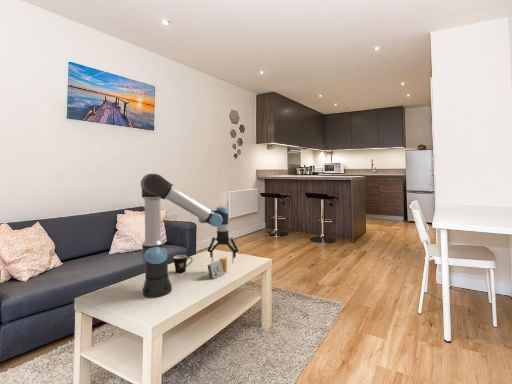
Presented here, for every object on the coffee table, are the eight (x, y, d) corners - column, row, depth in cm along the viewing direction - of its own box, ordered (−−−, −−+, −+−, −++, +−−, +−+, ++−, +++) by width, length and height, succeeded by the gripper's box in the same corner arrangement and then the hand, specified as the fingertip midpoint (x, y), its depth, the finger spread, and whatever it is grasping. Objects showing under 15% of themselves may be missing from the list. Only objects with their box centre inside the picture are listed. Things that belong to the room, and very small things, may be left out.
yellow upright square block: (227, 267, 190) (227, 257, 189) (226, 269, 185) (226, 259, 185) (221, 267, 190) (220, 257, 189) (219, 269, 186) (219, 259, 185)
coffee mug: (172, 274, 183) (171, 258, 182) (175, 269, 192) (175, 255, 191) (190, 273, 183) (190, 258, 183) (193, 269, 192) (192, 254, 191)
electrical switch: (213, 279, 173) (211, 264, 173) (207, 278, 176) (206, 263, 176) (224, 275, 180) (222, 260, 180) (218, 274, 183) (217, 259, 183)
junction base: (220, 272, 185) (220, 270, 185) (219, 270, 189) (219, 267, 189) (227, 271, 186) (227, 269, 186) (226, 269, 190) (226, 267, 190)
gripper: (242, 229, 188) (242, 260, 190) (205, 229, 191) (205, 260, 192) (240, 231, 181) (241, 264, 182) (202, 231, 183) (202, 263, 184)
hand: (223, 262), depth 187 cm, fingers open, 13 cm apart
